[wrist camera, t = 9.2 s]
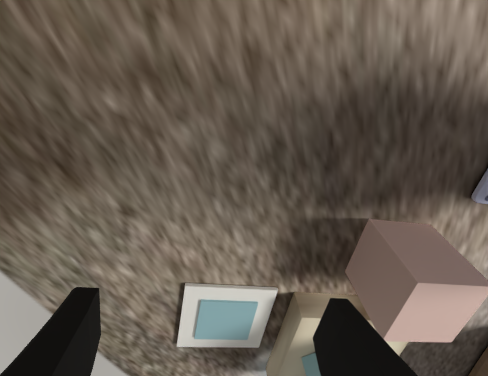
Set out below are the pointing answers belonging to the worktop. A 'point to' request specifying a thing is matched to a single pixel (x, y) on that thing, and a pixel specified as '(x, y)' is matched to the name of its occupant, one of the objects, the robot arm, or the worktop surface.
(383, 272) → the rose cube
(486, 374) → the wooden block
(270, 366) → the birch block
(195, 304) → the card
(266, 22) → the worktop surface
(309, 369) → the teal cube
